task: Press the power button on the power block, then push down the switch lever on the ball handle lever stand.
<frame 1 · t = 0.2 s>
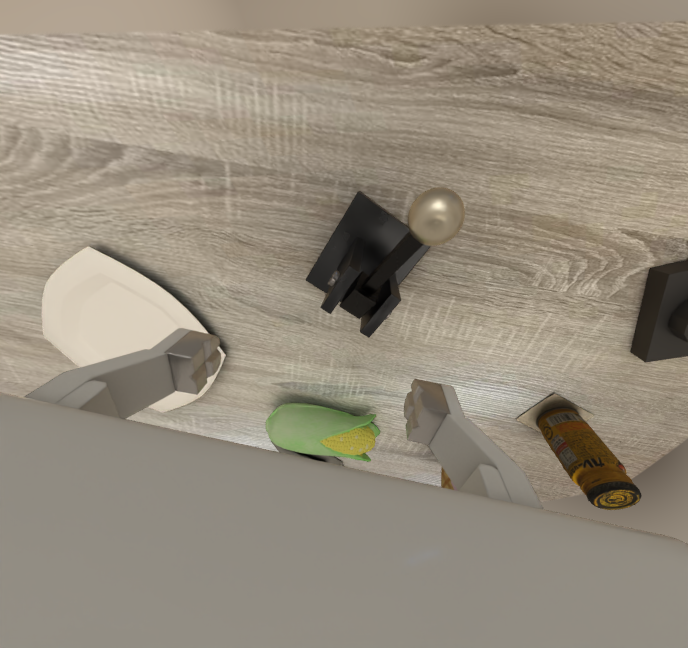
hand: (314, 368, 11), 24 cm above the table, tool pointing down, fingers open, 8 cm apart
power block: (685, 305, 30), on the table
cloth: (312, 463, 55), on the table
plate: (142, 338, 42), on the table
switch lever: (391, 263, 19), point 13 cm above the table, hinge at 25.0°
condiment: (552, 415, 41), on the table
ball handle lever stand: (365, 260, 32), on the table
corn: (328, 412, 46), on the table
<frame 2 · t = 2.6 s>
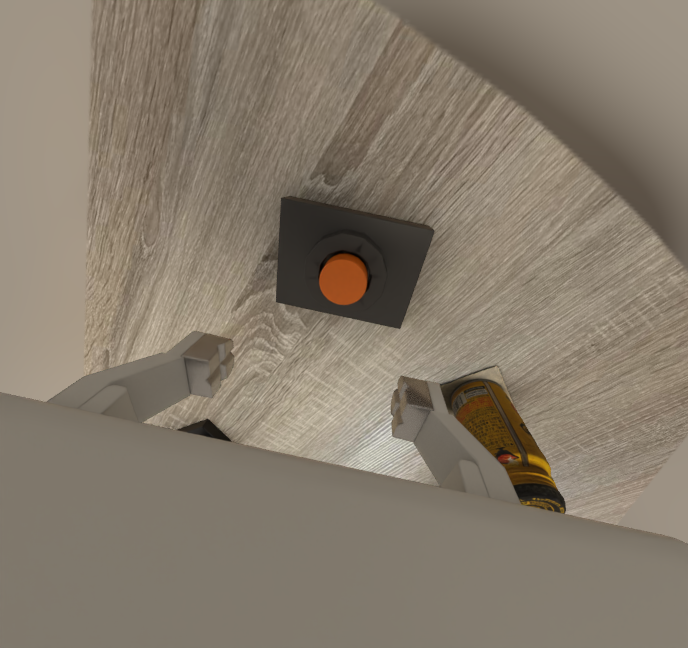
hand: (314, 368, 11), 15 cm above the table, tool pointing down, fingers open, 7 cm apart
power block: (349, 262, 24), on the table
condiment: (467, 397, 30), on the table
power button: (344, 279, 20), point 4 cm above the table, slide at 0.1 cm
ball handle lever stand: (211, 450, 41), on the table
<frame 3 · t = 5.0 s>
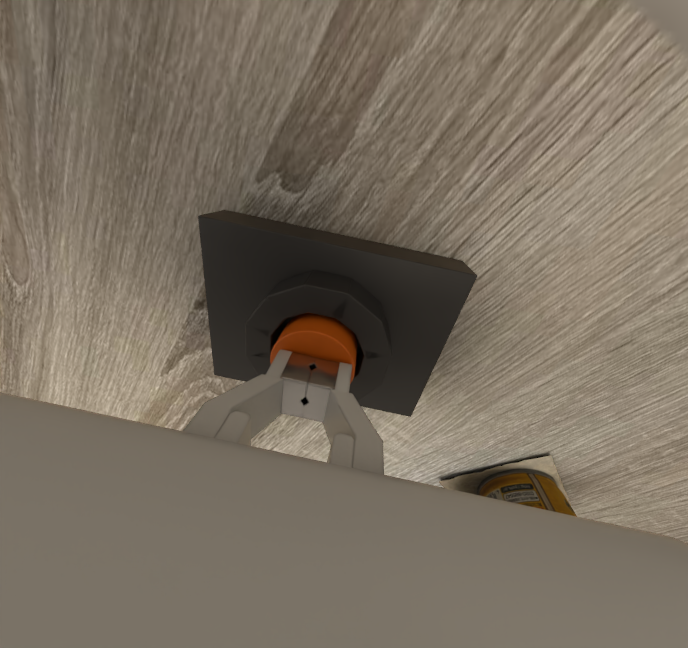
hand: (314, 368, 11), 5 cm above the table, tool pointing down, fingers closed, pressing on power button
power block: (329, 314, 15), on the table
condiment: (502, 487, 22), on the table
power button: (315, 355, 11), point 4 cm above the table, slide at -0.4 cm, touching gripper
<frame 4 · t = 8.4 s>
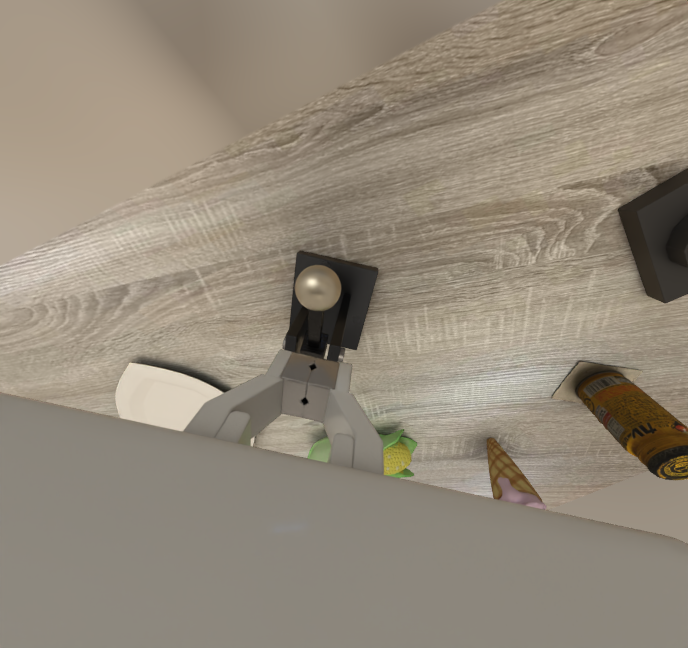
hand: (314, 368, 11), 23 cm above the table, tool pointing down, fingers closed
power block: (686, 228, 26), on the table
plate: (192, 415, 51), on the table
switch lever: (315, 323, 21), point 13 cm above the table, hinge at 25.0°
ice cream cone: (489, 438, 45), on the table
condiment: (592, 383, 37), on the table
ball handle lever stand: (331, 301, 35), on the table
corn: (362, 437, 49), on the table
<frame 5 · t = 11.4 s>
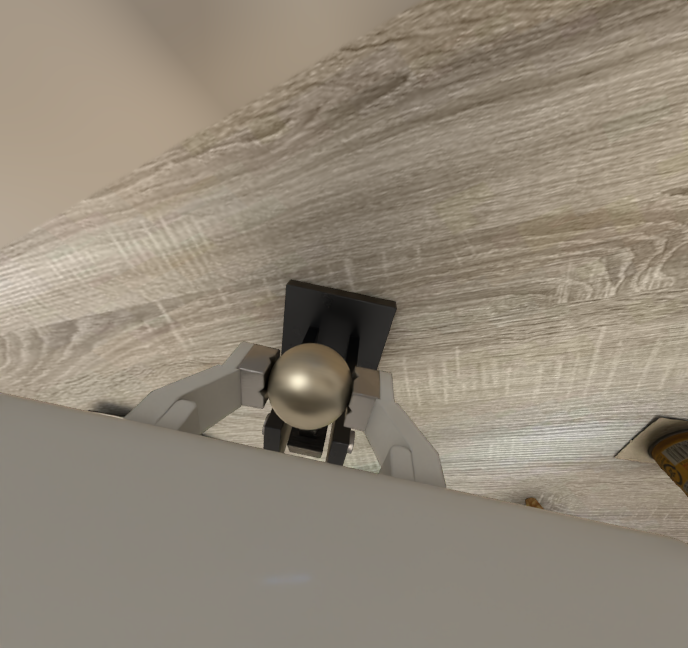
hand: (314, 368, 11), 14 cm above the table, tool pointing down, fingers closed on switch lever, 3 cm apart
switch lever: (309, 414, 13), point 13 cm above the table, hinge at 25.0°, touching gripper
condiment: (671, 441, 29), on the table
ball handle lever stand: (333, 342, 27), on the table
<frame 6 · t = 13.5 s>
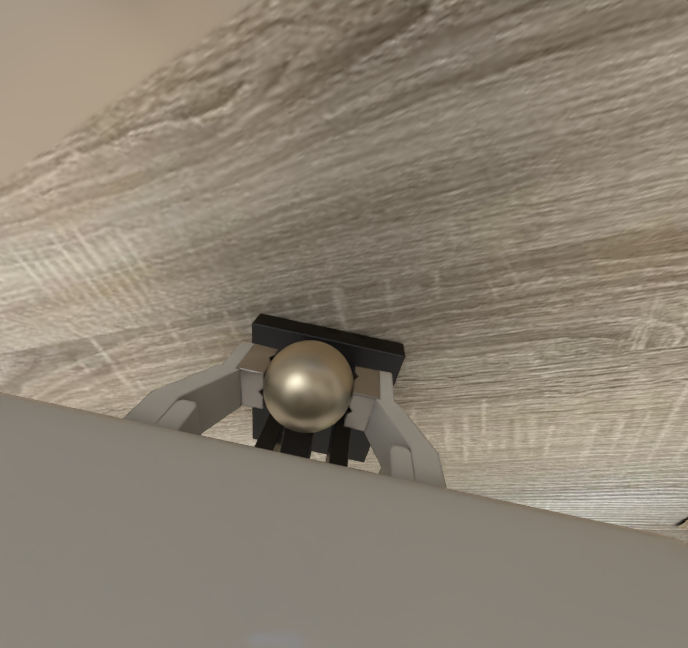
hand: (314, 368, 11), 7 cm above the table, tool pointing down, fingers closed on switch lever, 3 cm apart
switch lever: (289, 486, 10), point 9 cm above the table, hinge at -19.2°, touching gripper
ball handle lever stand: (320, 390, 20), on the table
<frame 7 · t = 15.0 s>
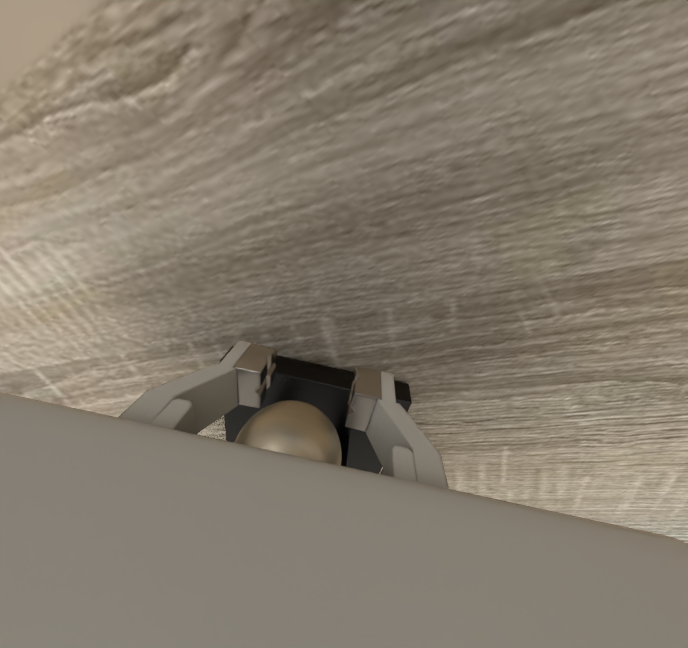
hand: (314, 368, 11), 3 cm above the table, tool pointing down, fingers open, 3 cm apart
switch lever: (257, 599, 8), point 9 cm above the table, hinge at -30.1°
ball handle lever stand: (308, 432, 17), on the table
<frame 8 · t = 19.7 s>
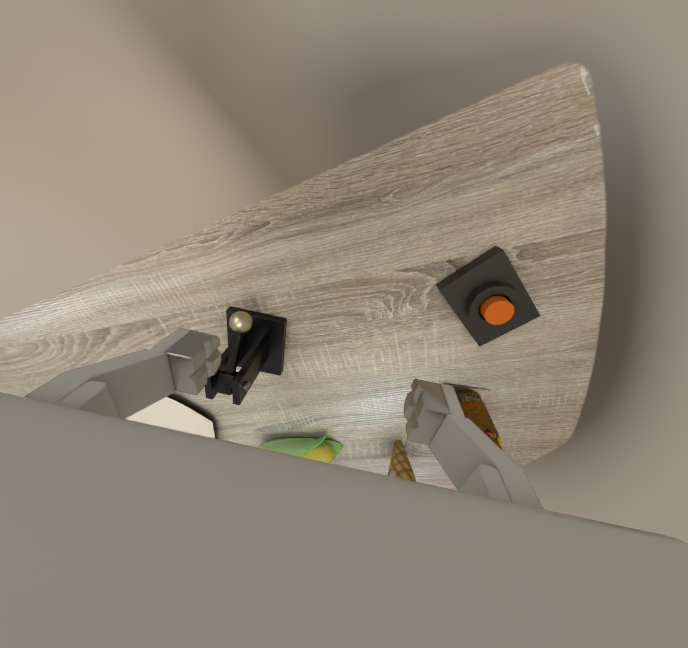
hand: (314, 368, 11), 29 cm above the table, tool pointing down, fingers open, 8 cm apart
power block: (484, 296, 38), on the table
plate: (166, 424, 63), on the table
switch lever: (234, 351, 37), point 9 cm above the table, hinge at -30.1°
ice cream cone: (397, 441, 57), on the table
condiment: (459, 399, 49), on the table
power button: (496, 310, 34), point 4 cm above the table, slide at 0.1 cm
ball handle lever stand: (258, 340, 47), on the table
corn: (300, 440, 61), on the table
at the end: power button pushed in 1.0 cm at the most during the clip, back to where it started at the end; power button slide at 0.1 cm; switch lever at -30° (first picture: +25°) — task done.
